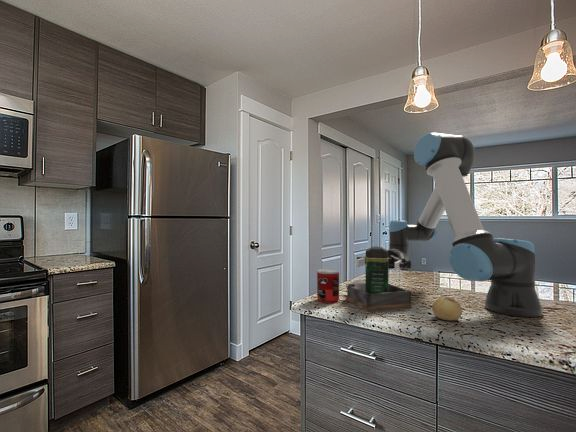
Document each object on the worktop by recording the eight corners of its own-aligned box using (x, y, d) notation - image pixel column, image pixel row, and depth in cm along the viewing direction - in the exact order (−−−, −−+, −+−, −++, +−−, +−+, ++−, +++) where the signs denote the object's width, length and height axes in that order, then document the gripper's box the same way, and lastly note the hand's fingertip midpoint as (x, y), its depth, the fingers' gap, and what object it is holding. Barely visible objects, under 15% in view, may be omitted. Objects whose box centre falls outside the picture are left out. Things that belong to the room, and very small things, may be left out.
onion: (428, 319, 91) (428, 295, 91) (436, 313, 97) (436, 290, 97) (459, 325, 86) (458, 300, 86) (464, 318, 92) (464, 294, 92)
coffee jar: (389, 303, 103) (389, 248, 103) (365, 301, 105) (364, 247, 105) (387, 296, 112) (387, 245, 112) (365, 295, 114) (365, 245, 114)
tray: (410, 307, 103) (410, 291, 103) (368, 311, 99) (368, 294, 99) (383, 296, 118) (383, 282, 118) (346, 299, 114) (346, 284, 114)
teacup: (369, 292, 124) (369, 279, 124) (373, 297, 117) (373, 283, 117) (344, 292, 125) (344, 279, 125) (346, 297, 118) (346, 282, 118)
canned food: (315, 298, 116) (315, 269, 116) (335, 297, 117) (335, 268, 117) (319, 303, 108) (319, 272, 108) (341, 302, 109) (341, 272, 109)
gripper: (425, 270, 119) (413, 279, 102) (363, 265, 133) (343, 272, 116) (424, 251, 119) (413, 256, 102) (363, 247, 133) (343, 252, 116)
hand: (376, 264), depth 109 cm, fingers open, 13 cm apart
